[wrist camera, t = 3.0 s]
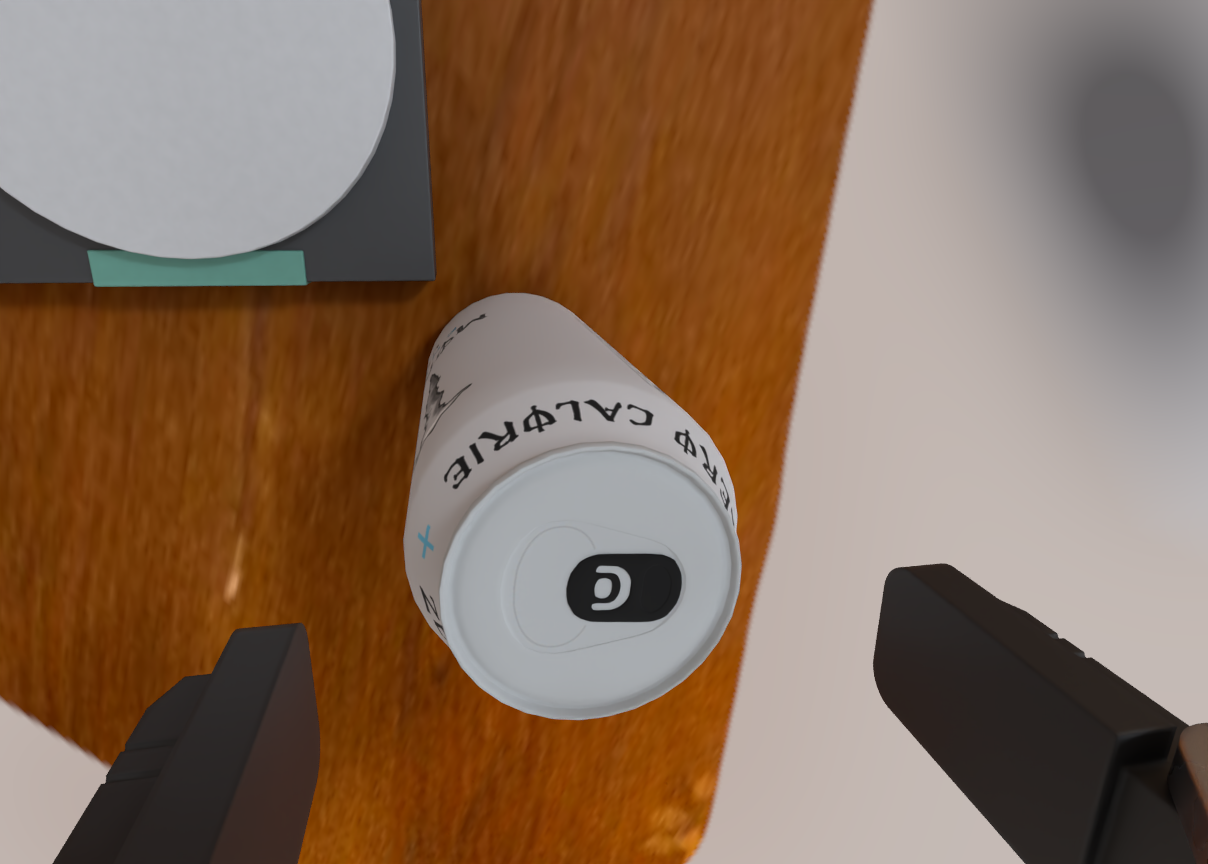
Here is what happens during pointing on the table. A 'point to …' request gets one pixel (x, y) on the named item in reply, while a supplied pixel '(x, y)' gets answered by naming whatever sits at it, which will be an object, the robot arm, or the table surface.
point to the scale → (214, 142)
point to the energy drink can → (564, 516)
